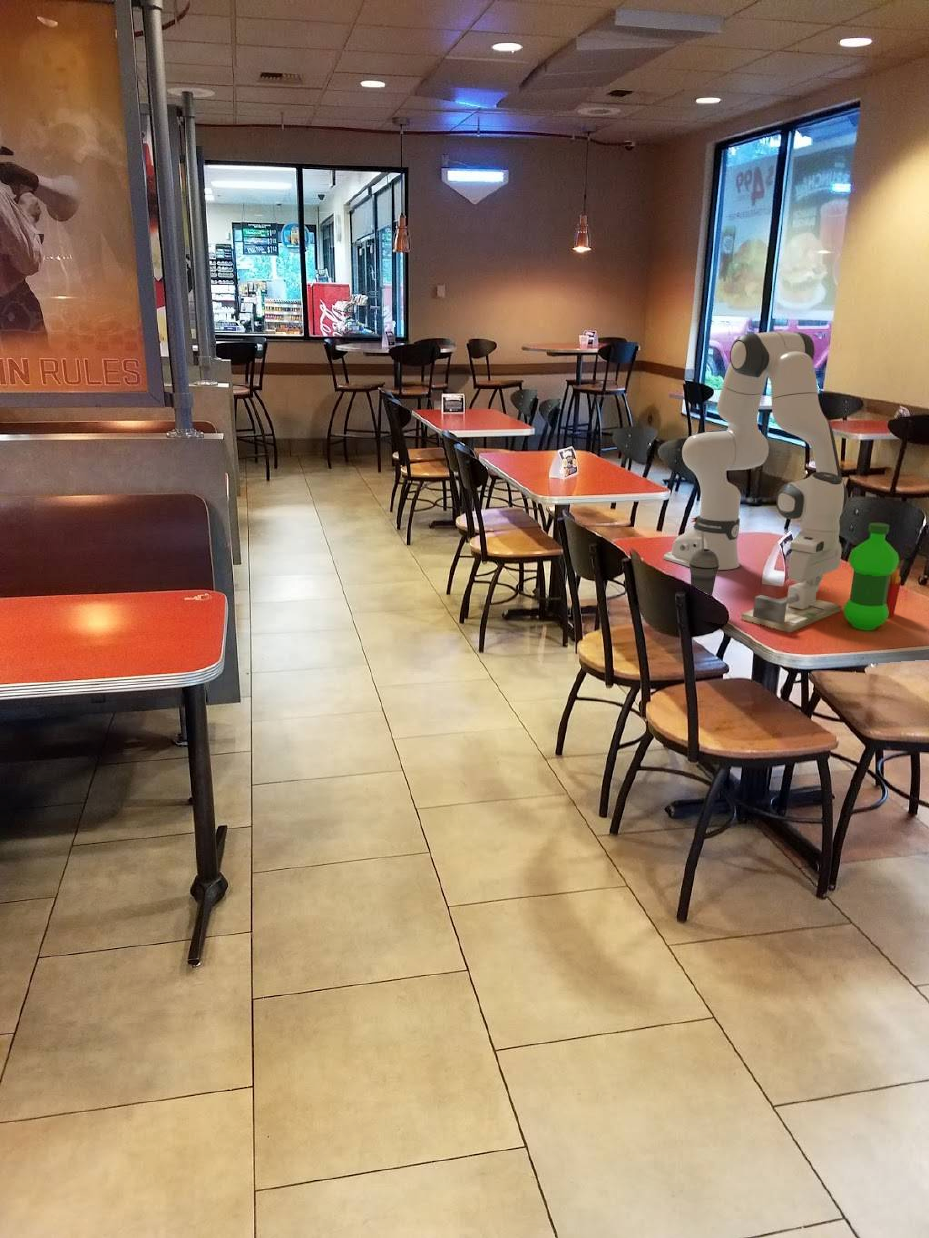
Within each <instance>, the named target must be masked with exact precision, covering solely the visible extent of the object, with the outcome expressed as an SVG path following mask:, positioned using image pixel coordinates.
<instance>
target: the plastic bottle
mask: <svg viewBox="0 0 929 1238" xmlns="http://www.w3.org/2000/svg"><path fill="white" fill-rule="evenodd" d="M867 531H868V532H869V538H868V539H866V540H864V541H863V542H861V543H860V544H858V545H857V546H855V547H854V548H852V551H851V552H850V554H849V565H850V567H851V568H852V569H853V573H852V581H851V582H852V583H851V588H850V589H851V590H850V595H849V599H848V600H847V601H846V603H845V605H844V606H843V613H844V617H845V618H846V620H847V621H848V622H849V623H850V624H851V626H852V627H853V628H855V629H858V630H862V631H874V630H876V628H878V627H880V626H881V625H883V624H884V623H885V622H886V621H887V619H888V618H889V617H888V615H889V610H888V607H887V604H886V599H887V593H888V587H889V581H890V574H891V573H892V572H894V571H895V570H898V569H897V568H898V566H899V562H900V557H899V552H897V551H896V550H895V548H893V546H892V545H891V544H890V543H889V542H888V541H886V535H887V534H889V532H890V525H889V524H888V523H882V522H870V523H869V524H868V530H867Z"/></svg>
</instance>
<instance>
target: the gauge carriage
mask: <svg viewBox="0 0 929 1238" xmlns="http://www.w3.org/2000/svg"><path fill="white" fill-rule="evenodd" d="M816 591H817V585H812V584H808V583H806V582H802V583H801V582H796V583H794V584H791V585H788V590H787V595H786V597H787V598H786V601H787V606H791V607H795V608H799V609H805V608H808V607H813V608H817V609H821V610H824V609H822V608H818V607H814V606H813V605H815V599H817V592H818V591H817V592H816Z"/></svg>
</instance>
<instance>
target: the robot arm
mask: <svg viewBox="0 0 929 1238" xmlns="http://www.w3.org/2000/svg"><path fill="white" fill-rule="evenodd" d="M811 337H812V336H810V335H809V334H807V333H804V332H801V331H781V330H773V331H766V332H757V333H756V332H755V333H753V332H749V333H745V334H742V335H740V336H738V337H737V338H736V339H735V340H734V341H733V344H732V345H731V348H730V352H729V365H728V367H727V369H726V372H725V375H724V379H723V382H722V386H721V390H720V393H719V397H718V401H717V405H716V409H717V412H718V415H719V417H720V418H721V419H722V420H724V421H725V422H727V423H728V426H727V429H726V431H711V432H710V431H707V432H702V433H697V434H694V435H690V436H688V437H687V439H686V440H685V442H684V444H683V445H682V449H681V456H682V457H681V458H682V460H683V462H684V464H685V466H686V467H687V468H688V469H689V470H690V471H691V472H692V473H693V474H694V475H695V477H696V479H697V482H698V484H699V487H700V507H699V508H700V510H699V515H696V516H695V517H693V518H691V523H694V524H693V527H692V528H690V529H689V530H686V531H685V532H684V533H682V534H680V535H679V536H678V537H676V538H675V539H674V541H673V545H672V549H671V551H668V552H666V553H664V555H663V559H664V560H667V561H669V562H672V563H676V564H678V565H681V566H685V567H689V568H690V565H689V563H690V560H691V557H692V556H693V554H694V553H695V552H696V551H698V550H700V549H702V531H704V549H709V550H711V551H713V552H714V553H715V554H716V556H717V558H718V562H719V567H718V571H723V570H727V571H728V570H732V569H733V570H734V569H737V568H738V567H740V562H739V561H740V560H739V554H738V538H739V533H740V518H739V517H740V507H741V497H742V495H741V492H740V490H739V489H738V487H737V486H736V485H734V484H732V483H730V482H729V480H728V478H727V471H743V470H744V471H745V470H750V469H754V468H757V467H760V466H762V465H763V464H764V463H765V462H766V460H767V458H768V457H769V450H770V449H769V448H770V446H769V443H768V439H767V438H766V436H765V435H763V433H762V432H761V431H760V429H759V426H758V414H759V413H758V412H759V410H760V409H759V408H760V406H761V405H760V404H761V400H762V397H763V394H764V391H765V386H766V383H767V378H768V379H769V381H770V387H771V390H770V391H771V398H770V399H771V412H772V413H771V414H772V417H773V420H774V422H775V424H776V425H777V426H778V427H779V428H780V429H782V430H783V431H784V432H786V433H788V434H790V435H793V436H795V437H798V438H799V439H801V440H803V441H805V443H807V444H808V445H809V446H810V449H811V451H812V454H813V460H814V465H815V469H816V472H813V473H811V474H810V475H809V476H808V477H807V478H804V479H803V478H802V479H801V480H797V481H791V482H786V483H784V484H783V485H782V486H781V487H780V488H779V490H778V492H777V496H776V508H777V511H778V512H779V514H780V516H782V517H783V518H785V519H788V520H801V521H802V524H801V531H799V533H798V534H797V535H796V536H795V537H794V538H793V539H792V540H791V542H790V545H789V548H790V549H791V550H792V551H791V553H790V556H789V562H788V577H789V580H790V581H792V582H796V583H799V582H801V583H802V582H804V583H808V584H812V585H817V591H816V593H818V592H819V588H820V585H821V582H822V580H823V576H824V575H826V574H829V573H831V572H834V571H837V570H838V569H839V568H840V565H841V559H842V558H841V557H842V545H841V542H840V537H839V536H840V529H841V526H840V517H841V515H842V513H843V512H844V510H845V509H846V507H847V505H848V502H849V501H848V500H849V494H848V488H847V486H846V484H845V482H844V479H843V476H842V470H841V465H840V460H839V456H838V455H839V454H838V450H837V445H836V440H835V435H834V431H833V427H832V423H831V422H830V420H829V419H828V418H827V417H826V416H825V415H824V413H823V411H822V408H821V405H820V400H819V394H818V393H819V391H818V390H819V389H818V381H817V376H816V369H815V365H814V358H815V352H816V351H815V344H814V341H813V338H811Z"/></svg>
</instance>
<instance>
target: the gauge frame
mask: <svg viewBox="0 0 929 1238" xmlns="http://www.w3.org/2000/svg"><path fill="white" fill-rule="evenodd" d="M786 598H787V596H785V597H782V598H775V597H771V596H767V595H762V594H759V595H757V596H754V601H753V608H752V609H751V610H748V611H745V612H743V613H741V619H743V621H745V620H746V622H749V623H752V622H753V624H757V625H760V624H762V625H761V626H763V625H765V626H764V627H767V626H768V627H767V628H771V629H774V628H775V629H774V630H778V631H782V632H786V633H789V634H790V633H792V632H795V631H798V630H799V629H802V628H804V627H807V626H809V625H811V624H814V623H817V622H818V621H820V620H821V621H822V620H823V619H825V618H828V617H830V616H832V615H834V614H837V613H839V612H841V611H842V606H843V605H842V604H839V603H834V602H830V601H826V600H822V599H817V598H816V599H815V605H813V606H814V607H818V608H822V609H824V610H821V609H817V608H813V607H808V608H805V609H799V608H795V607H791V606H787V601H786Z"/></svg>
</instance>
